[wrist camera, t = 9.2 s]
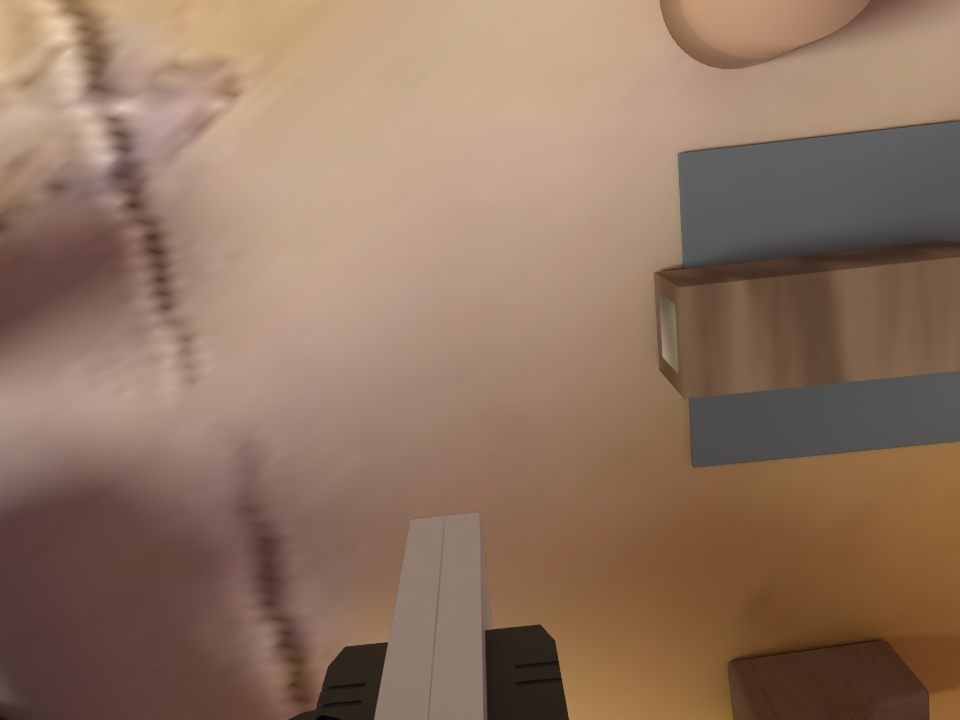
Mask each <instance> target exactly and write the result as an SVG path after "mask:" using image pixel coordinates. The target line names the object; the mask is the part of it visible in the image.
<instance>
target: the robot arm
mask: <svg viewBox="0 0 960 720" xmlns="http://www.w3.org/2000/svg"><path fill="white" fill-rule="evenodd" d="M0 720H1V719H0ZM289 720H569V717H568V712H567V706H566V700H565V695H564V689H563V684H562V678H561V672H560V667H559V661H558V655H557V650H556V644H555V640H554V639H553V638H552V637H551V636H550V635H549V634H548V633H547V631H546V630H545V629H544V628H543V627H542V626H541V625H531V626H521V627H512V628H502V629H493V622H492V613H491V605H490V596H489V588H488V580H487V571H486V563H485V555H484V546H483V538H482V529H481V521H480V513H479V512H476V513H466V514H457V515H447V516H438V517H428V518H419V519H411V521H410V527H409V532H408V537H407V543H406V548H405V554H404V559H403V565H402V570H401V576H400V581H399V586H398V592H397V597H396V603H395V608H394V614H393V619H392V625H391V630H390V635H389V641H388V642H386V643H376V644H367V645H357V646H347V647H345V648H344V649H343V650H342V651H341V652H340V653H339V654H338V656H337V657H336V658H335V659H334V660H333V661H332V663H331V664H330V665H329V666H328V669H327V672H326V676H325V679H324V682H323V686H322V691H321V693H320V696H319V699H318V703H317V709H315V710H314V711H310V712H305V713H301V714H299V715H297V716H295V717H293V718H291V719H289Z"/></svg>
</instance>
